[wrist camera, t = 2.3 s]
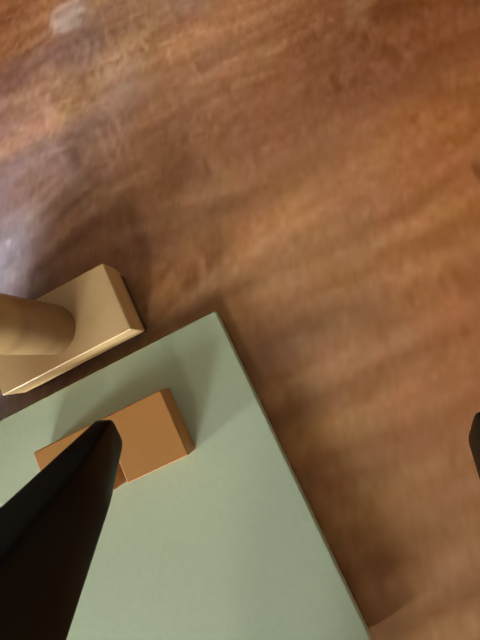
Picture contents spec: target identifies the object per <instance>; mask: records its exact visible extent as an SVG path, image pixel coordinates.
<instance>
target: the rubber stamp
mask: <svg viewBox="0 0 480 640" xmlns="http://www.w3.org/2000/svg"><path fill="white" fill-rule="evenodd" d="M145 331H147V329H146V327H145V324H144V322H143V320H142V318H141V315H140V313H139V311H138V309H137V306H136V304H135V302H134V299H133V297H132V295H131V293H130V290H129V288H128V286H127V284H126V281H125V279H124V277H122V276H120V274H119V271H118V270H116V269H114V268H112V267H110V266H108V265H105V264H100V265H98V266H97V267H95V268H93V269H91V270H89V271H87V272H85V273H84V274H82V275H80V276H78V277H76V278H74V279H73V280H71V281H69V282H67V283H65V284H63V285H62V286H60V287H58V288H56V289H54V290H52V291H50V292H49V293H47V294H45V295H43V296H41V297H39V298H38V299H36V300H31V299H26V298H22V297H17V296H12V295H7V294H2V293H0V389H1V392H2V394H3V395H9V394H17V393H25V392H27V391H29V390H31V389H33V388H35V387H39V386H41V385H43V384H44V383H46V382H48V381H50V380H52V379H54V378H56V377H58V376H60V375H62V374H64V373H66V372H68V371H70V370H72V369H74V368H76V367H77V366H79V365H81V364H83V363H85V362H87V361H89V360H91V359H93V358H95V357H97V356H99V355H101V354H103V353H105V352H107V351H109V350H111V349H112V348H114V347H116V346H118V345H120V344H122V343H124V342H126V341H128V340H130V339H132V338H134V337H136V336H138V335H140V334H142V333H144V332H145Z"/></svg>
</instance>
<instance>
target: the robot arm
mask: <svg viewBox="0 0 480 640" xmlns="http://www.w3.org/2000/svg"><path fill="white" fill-rule="evenodd" d="M469 444H470V448H471V451H472V455H473V458H474V462H475V465H476V468H477V472H478V475H479V479H480V412H478V413H476V414H475V416H474V419H473V423H472V426H471V429H470V433H469ZM122 445H123V444H122V438H121V436H120V434H119V432H118V430H117V428H116V426H115V423H114V422H113V421H112V420H97V421H95V422H94V423H93V424H92V425H91V426H90V427H89V428H87V429H86V430H85V431H84V432H83V433H82V434H81V435H80V436H79V437H78V438H76V439H75V440H74V441H73V442H72V443H71V444H70V445H69V446H68V447H67V448H65V449H64V450H63V451H62V452H61V453H60V454H59V455H58V456H57V457H56V458H54V459H53V460H52V461H51V462H50V463H49V464H48V465H47V466H46V467H45V468H43V469H42V470H41V471H40V472H39V473H38V474H37V475H36V476H35V477H34V478H32V479H31V480H30V481H29V482H28V483H27V484H26V485H25V486H24V487H23V488H21V489H20V490H19V491H18V492H17V493H16V494H15V495H14V496H13V497H12V498H10V499H9V500H8V501H7V502H6V503H5V504H4V505H3V506H2V507H1V508H0V640H66V639H67V636H68V633H69V630H70V627H71V624H72V621H73V618H74V615H75V612H76V608H77V605H78V602H79V599H80V596H81V593H82V590H83V587H84V584H85V581H86V578H87V574H88V571H89V568H90V565H91V562H92V559H93V556H94V553H95V550H96V547H97V543H98V540H99V537H100V534H101V531H102V528H103V525H104V522H105V519H106V516H107V513H108V509H109V506H110V502H111V498H112V494H113V489H114V485H115V480H116V475H117V470H118V466H119V461H120V456H121V452H122Z"/></svg>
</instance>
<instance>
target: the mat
mask: <svg viewBox="0 0 480 640" xmlns="http://www.w3.org/2000/svg"><path fill="white" fill-rule="evenodd" d="M166 388H169V389H170V391H171V393H172V395H173V397H174V400H175V402H176V404H177V407H178V409H179V411H180V413H181V416H182V418H183V420H184V422H185V425H186V427H187V429H188V431H189V434H190V436H191V438H192V441H193V443H194V445H195V447H196V449H195V450H194V451H193V452H191V453H190V454H189V455H188V456H186V457H183V458H181V459H179V460H177V461H175V462H173V463H171V464H169V465H166V466H164V467H162V468H160V469H158V470H156V471H154V472H152V473H149V474H147V475H145V476H143V477H141V478H139V479H137V480H135V481H132V482H130V483H128V482H127V481H126V482H125V483H124V484H122V485H121V486H119V487H118V488H117V489H115V490H113V494H112V498H111V502H110V506H109V509H108V513H107V516H106V519H105V522H104V525H103V528H102V531H101V534H100V537H99V540H98V543H97V547H96V550H95V553H94V556H93V559H92V562H91V565H90V568H89V571H88V574H87V578H86V581H85V584H84V587H83V590H82V593H81V596H80V599H79V602H78V605H77V608H76V612H75V615H74V618H73V621H72V624H71V627H70V630H69V633H68V636H67V639H66V640H370V639H371V637H370V633H369V629H368V627H367V625H366V623H365V621H364V619H363V616H362V614H361V612H360V610H359V608H358V606H357V604H356V602H355V600H354V597H353V595H352V593H351V591H350V589H349V587H348V585H347V583H346V581H345V579H344V576H343V574H342V572H341V570H340V568H339V566H338V564H337V562H336V560H335V558H334V555H333V553H332V551H331V549H330V547H329V545H328V543H327V541H326V539H325V537H324V534H323V532H322V530H321V528H320V526H319V524H318V522H317V520H316V518H315V516H314V513H313V511H312V509H311V507H310V505H309V503H308V501H307V499H306V497H305V494H304V492H303V490H302V488H301V486H300V484H299V482H298V480H297V478H296V476H295V473H294V471H293V469H292V467H291V465H290V463H289V461H288V459H287V457H286V455H285V452H284V450H283V448H282V446H281V444H280V442H279V440H278V438H277V436H276V434H275V431H274V429H273V427H272V425H271V423H270V421H269V419H268V417H267V415H266V412H265V410H264V408H263V406H262V404H261V402H260V400H259V398H258V396H257V394H256V391H255V389H254V387H253V385H252V383H251V381H250V379H249V377H248V375H247V373H246V370H245V368H244V366H243V364H242V362H241V360H240V358H239V356H238V354H237V352H236V349H235V347H234V345H233V343H232V341H231V339H230V337H229V335H228V333H227V330H226V328H225V326H224V324H223V322H222V320H221V318H220V316H219V314H218V312H216V311H213V312H212V313H210V314H208V315H206V316H204V317H202V318H200V319H198V320H196V321H194V322H192V323H190V324H188V325H186V326H184V327H182V328H180V329H178V330H176V331H174V332H172V333H170V334H168V335H166V336H164V337H163V338H161V339H159V340H157V341H155V342H153V343H151V344H149V345H147V346H145V347H143V348H141V349H139V350H137V351H135V352H133V353H131V354H129V355H127V356H125V357H123V358H121V359H119V360H117V361H115V362H114V363H112V364H110V365H108V366H106V367H104V368H102V369H100V370H98V371H96V372H94V373H92V374H90V375H88V376H86V377H84V378H82V379H80V380H78V381H76V382H74V383H72V384H70V385H68V386H66V387H65V388H63V389H61V390H59V391H57V392H55V393H53V394H51V395H49V396H47V397H45V398H43V399H41V400H39V401H37V402H35V403H33V404H31V405H29V406H27V407H25V408H23V409H21V410H19V411H17V412H16V413H14V414H12V415H10V416H8V417H6V418H4V419H2V420H0V503H1V505H2V506H3V505H4V504H5V503H6V502H7V501H8V500H9V499H10V498H12V497H13V496H14V495H15V494H16V493H17V492H18V491H19V490H20V489H21V488H23V487H24V486H25V485H26V484H27V483H28V482H29V481H30V480H31V479H32V478H34V477H35V476H36V475H37V474H38V473H39V472H40V469H39V466H38V463H37V461H36V458H35V455H34V452H35V451H37V450H39V449H41V448H43V447H45V446H47V445H49V444H51V443H53V442H56V441H58V440H60V439H62V438H64V437H66V436H68V435H70V434H72V433H74V432H76V431H78V430H80V429H82V428H84V427H86V426H88V425H90V424H93V423H94V422H95V421H97V420H102V419H103V418H104V417H106V416H108V415H110V414H112V413H114V412H116V411H118V410H120V409H122V408H124V407H126V406H128V405H130V404H132V403H134V402H136V401H138V400H140V399H142V398H145V397H147V396H149V395H151V394H153V393H155V392H157V391H159V390H162V389H166Z"/></svg>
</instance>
